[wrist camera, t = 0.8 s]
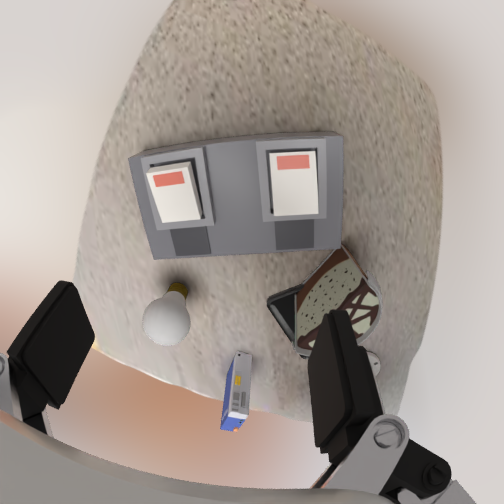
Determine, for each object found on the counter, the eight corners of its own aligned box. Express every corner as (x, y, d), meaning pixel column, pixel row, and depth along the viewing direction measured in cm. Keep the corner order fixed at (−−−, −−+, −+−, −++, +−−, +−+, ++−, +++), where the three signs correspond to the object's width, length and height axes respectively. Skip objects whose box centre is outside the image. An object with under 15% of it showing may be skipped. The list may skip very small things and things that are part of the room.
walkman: (241, 377, 49) (236, 433, 38) (226, 374, 48) (219, 431, 38) (253, 353, 45) (249, 416, 34) (236, 350, 44) (230, 413, 34)
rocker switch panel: (333, 232, 33) (342, 253, 28) (164, 243, 35) (151, 264, 30) (333, 131, 27) (346, 137, 22) (143, 150, 29) (123, 160, 24)
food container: (320, 316, 40) (330, 370, 31) (287, 298, 38) (292, 355, 30) (379, 257, 34) (407, 307, 26) (348, 233, 33) (373, 282, 24)
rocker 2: (316, 211, 26) (318, 213, 24) (273, 213, 26) (274, 216, 25) (313, 151, 24) (315, 151, 23) (269, 153, 24) (269, 153, 23)
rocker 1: (202, 212, 27) (200, 219, 26) (165, 215, 28) (162, 223, 27) (190, 161, 24) (187, 167, 23) (150, 167, 24) (145, 174, 23)
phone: (303, 360, 44) (263, 302, 38) (303, 355, 45) (264, 296, 39) (347, 345, 42) (318, 281, 36) (346, 340, 43) (317, 276, 36)
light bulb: (174, 261, 36) (150, 312, 27) (209, 287, 38) (194, 342, 29) (153, 286, 38) (128, 336, 30) (185, 309, 40) (168, 361, 32)
